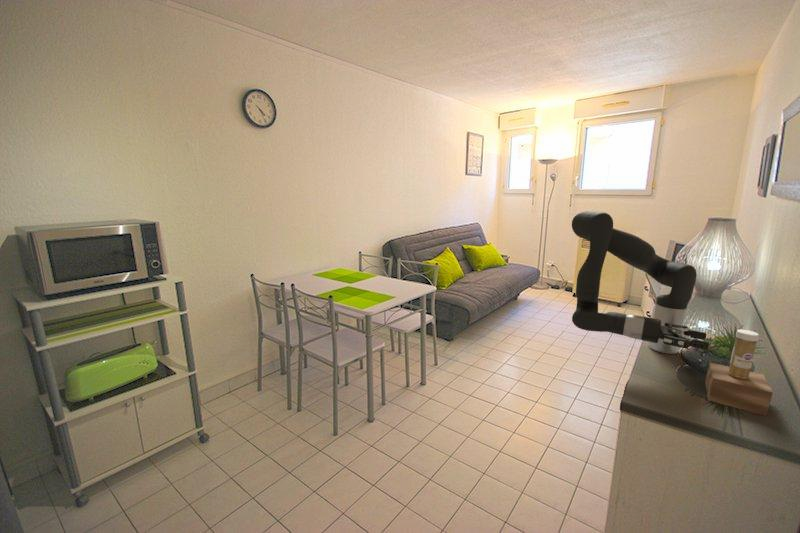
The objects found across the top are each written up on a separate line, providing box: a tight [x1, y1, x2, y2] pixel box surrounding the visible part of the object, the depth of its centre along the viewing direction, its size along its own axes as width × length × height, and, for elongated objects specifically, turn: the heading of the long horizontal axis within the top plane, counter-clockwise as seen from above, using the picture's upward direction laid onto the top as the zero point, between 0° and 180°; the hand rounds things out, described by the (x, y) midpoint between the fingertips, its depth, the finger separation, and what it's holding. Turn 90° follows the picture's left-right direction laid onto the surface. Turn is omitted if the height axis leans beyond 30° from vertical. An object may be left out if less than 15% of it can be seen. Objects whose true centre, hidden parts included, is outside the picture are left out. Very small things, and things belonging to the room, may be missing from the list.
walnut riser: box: [704, 362, 774, 417], centre depth 104 cm, size 12×12×7 cm
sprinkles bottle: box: [728, 328, 760, 379], centre depth 102 cm, size 5×5×14 cm
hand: (707, 341), depth 106 cm, fingers open, 8 cm apart
